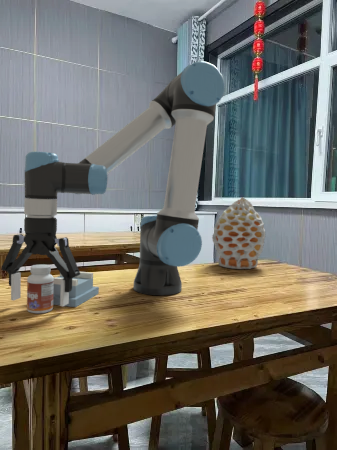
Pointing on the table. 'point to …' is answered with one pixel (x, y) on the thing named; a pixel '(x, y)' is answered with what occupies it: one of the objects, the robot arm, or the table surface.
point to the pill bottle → (40, 289)
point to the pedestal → (76, 289)
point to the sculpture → (239, 236)
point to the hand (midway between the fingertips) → (39, 302)
